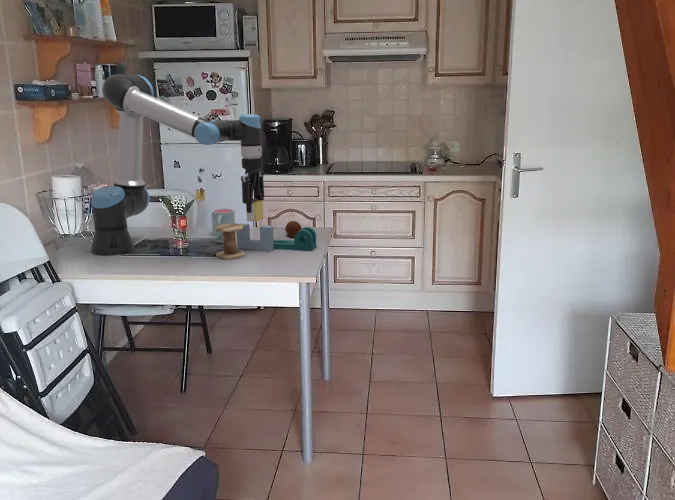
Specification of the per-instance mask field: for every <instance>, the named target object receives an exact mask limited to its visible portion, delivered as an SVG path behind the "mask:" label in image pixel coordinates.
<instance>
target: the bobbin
mask: <svg viewBox="0 0 675 500" xmlns="http://www.w3.org/2000/svg"><path fill="white" fill-rule="evenodd" d="M241 224H242V223H236V222H235V223H226V224H219V225H216V226H215V230H216V231H219V232H223V237H222V239H223V250H219V251H217V252H216V254H215V255H216V256H215V257H216V258H218V259H220V260H235V259H240V258H243V257H244V256H245V251H244V250H242V249H237V235H236V232H237V231H240V230H242V229H243V225H241Z"/></svg>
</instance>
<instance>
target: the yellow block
mask: <svg viewBox="0 0 675 500" xmlns="http://www.w3.org/2000/svg"><path fill="white" fill-rule="evenodd" d="M263 201H264V200H261V201H259V200H257V199H255V198H253V200H252V204H254V221H251V223H252V222H253V223H254V222H255V223H256V222H257V223H258V222H259V221H262V220H264V208H263V207H264V205H263V204H264V203H263Z"/></svg>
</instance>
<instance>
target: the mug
mask: <svg viewBox="0 0 675 500" xmlns="http://www.w3.org/2000/svg"><path fill="white" fill-rule="evenodd" d="M211 221H212V222H211V223H212V236H214V237H217V238H218V237H220V238H221V237H222V238H223V232H219V231H216V230H215V226H216V225H219V224H226V223H236V221H235V209H233V208H217V209H211Z"/></svg>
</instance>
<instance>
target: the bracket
mask: <svg viewBox="0 0 675 500" xmlns="http://www.w3.org/2000/svg"><path fill="white" fill-rule="evenodd" d="M301 228H302V229H301V230H300V231H298V232H297V233H296V234H295V237H293V239H294V240H293V239H291V240H290V239H273V241H274V249H273V250H285V251H287V250H288V251H304V252H313V251H314V250H315V248H317V233H316V231H315V229H313V227H311V226H304V227H301Z"/></svg>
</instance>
